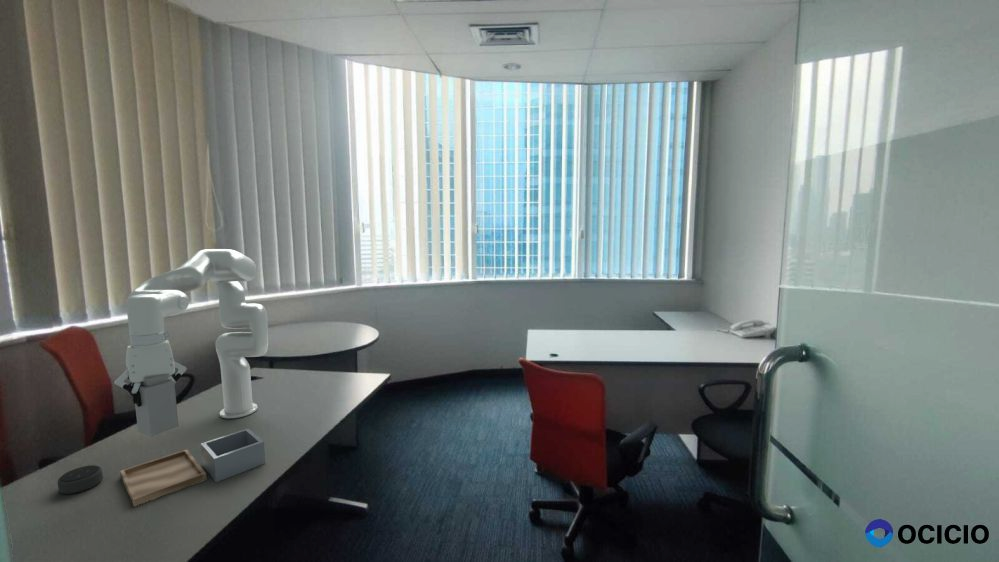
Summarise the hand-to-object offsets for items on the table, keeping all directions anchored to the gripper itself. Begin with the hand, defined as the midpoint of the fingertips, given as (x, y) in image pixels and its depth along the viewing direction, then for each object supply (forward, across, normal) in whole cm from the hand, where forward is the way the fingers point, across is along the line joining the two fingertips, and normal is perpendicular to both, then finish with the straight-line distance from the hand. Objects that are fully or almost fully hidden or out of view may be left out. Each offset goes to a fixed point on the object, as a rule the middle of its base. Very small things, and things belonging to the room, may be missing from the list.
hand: (154, 400), depth 121 cm
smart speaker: (+24, +16, -13) cm, 31 cm away
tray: (+23, 0, 0) cm, 23 cm away
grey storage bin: (+23, -16, +7) cm, 29 cm away
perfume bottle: (+8, 0, 0) cm, 8 cm away
